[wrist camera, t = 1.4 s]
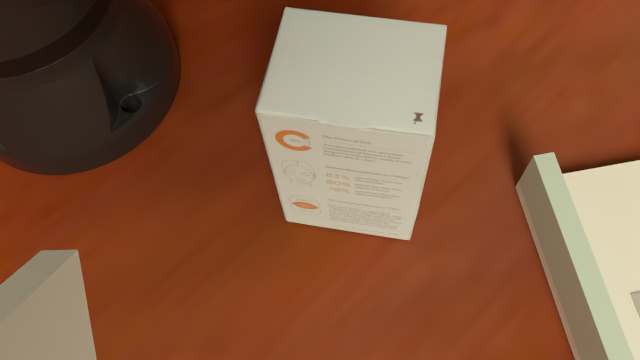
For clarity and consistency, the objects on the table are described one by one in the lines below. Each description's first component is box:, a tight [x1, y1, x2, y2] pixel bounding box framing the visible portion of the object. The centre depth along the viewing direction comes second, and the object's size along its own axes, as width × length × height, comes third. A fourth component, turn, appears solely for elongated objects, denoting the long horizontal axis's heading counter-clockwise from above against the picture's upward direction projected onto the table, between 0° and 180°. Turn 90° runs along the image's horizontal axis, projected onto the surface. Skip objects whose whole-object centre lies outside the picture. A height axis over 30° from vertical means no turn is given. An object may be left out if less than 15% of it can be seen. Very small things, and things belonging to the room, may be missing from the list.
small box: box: [255, 7, 447, 240], centre depth 33 cm, size 8×6×13 cm
